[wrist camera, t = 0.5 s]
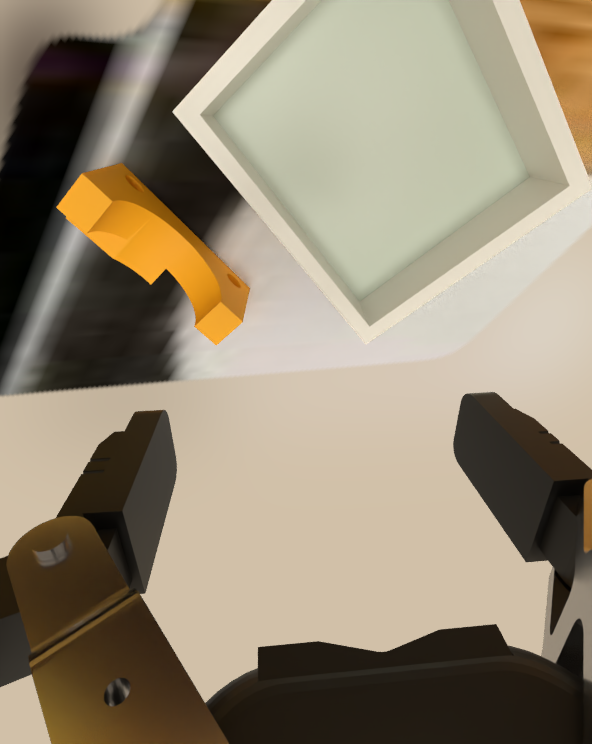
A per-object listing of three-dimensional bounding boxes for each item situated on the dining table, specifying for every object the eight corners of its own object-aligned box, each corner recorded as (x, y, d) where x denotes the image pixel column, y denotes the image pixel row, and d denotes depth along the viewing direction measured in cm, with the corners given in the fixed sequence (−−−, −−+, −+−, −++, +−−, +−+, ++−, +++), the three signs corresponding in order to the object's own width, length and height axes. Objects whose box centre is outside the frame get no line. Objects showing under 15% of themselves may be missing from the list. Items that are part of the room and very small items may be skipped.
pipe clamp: (86, 208, 29) (40, 229, 23) (122, 162, 27) (81, 173, 22) (213, 321, 34) (199, 360, 28) (249, 287, 32) (242, 321, 27)
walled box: (408, -123, 21) (444, -193, 16) (541, 177, 28) (592, 188, 24) (192, 113, 26) (172, 111, 21) (354, 313, 33) (365, 344, 29)
